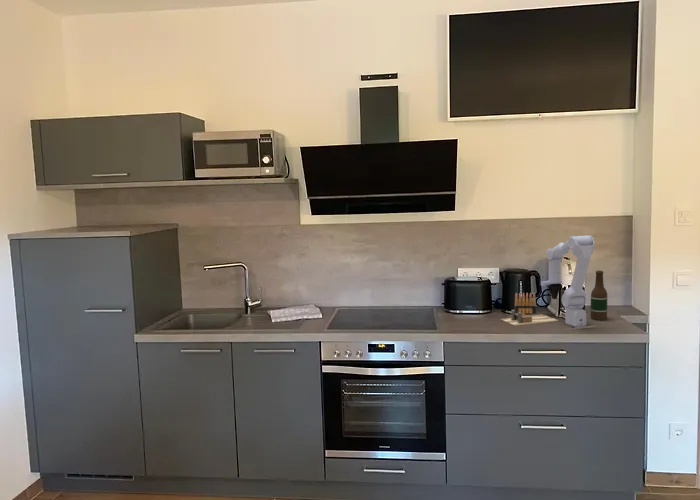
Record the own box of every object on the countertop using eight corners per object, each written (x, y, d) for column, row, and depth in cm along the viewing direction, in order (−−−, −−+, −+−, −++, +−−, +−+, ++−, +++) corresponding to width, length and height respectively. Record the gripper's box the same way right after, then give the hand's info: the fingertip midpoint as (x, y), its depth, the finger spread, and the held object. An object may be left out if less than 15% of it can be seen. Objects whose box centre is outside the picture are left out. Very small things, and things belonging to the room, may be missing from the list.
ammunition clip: (535, 315, 303) (535, 292, 302) (536, 315, 301) (536, 292, 300) (514, 314, 305) (514, 292, 304) (514, 315, 303) (514, 292, 302)
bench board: (559, 322, 286) (559, 320, 286) (515, 327, 279) (515, 325, 279) (542, 316, 299) (542, 314, 299) (500, 321, 293) (500, 319, 293)
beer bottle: (601, 321, 285) (602, 272, 282) (587, 318, 292) (587, 271, 289) (610, 318, 290) (611, 270, 287) (595, 316, 296) (596, 269, 293)
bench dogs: (522, 325, 284) (522, 312, 283) (519, 325, 283) (519, 313, 283) (513, 321, 291) (513, 309, 291) (510, 321, 291) (510, 309, 290)
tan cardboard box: (531, 321, 285) (532, 316, 285) (522, 322, 284) (522, 317, 283) (522, 318, 293) (522, 313, 292) (513, 319, 291) (513, 314, 291)
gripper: (562, 269, 301) (561, 295, 302) (537, 272, 297) (537, 298, 298) (570, 271, 294) (570, 298, 295) (545, 274, 290) (545, 301, 292)
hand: (554, 298), depth 296 cm, fingers closed
